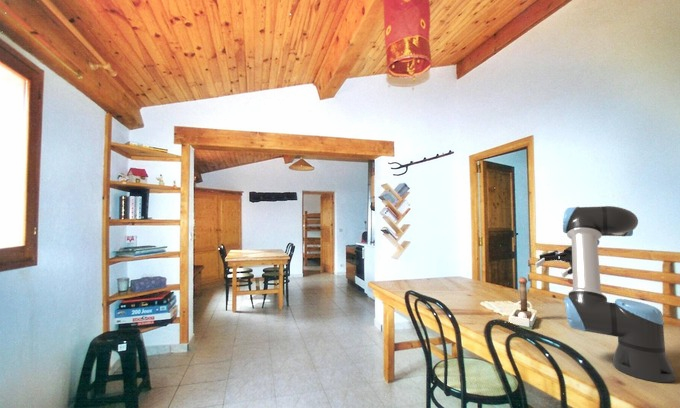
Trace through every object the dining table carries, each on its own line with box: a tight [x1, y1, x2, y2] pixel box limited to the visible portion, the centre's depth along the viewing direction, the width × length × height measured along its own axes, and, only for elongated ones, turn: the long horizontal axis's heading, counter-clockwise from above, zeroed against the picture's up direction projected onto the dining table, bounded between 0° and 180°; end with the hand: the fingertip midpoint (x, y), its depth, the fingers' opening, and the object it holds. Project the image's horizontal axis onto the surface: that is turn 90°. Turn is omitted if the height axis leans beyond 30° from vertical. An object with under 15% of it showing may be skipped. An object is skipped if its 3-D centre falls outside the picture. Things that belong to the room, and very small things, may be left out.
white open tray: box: [508, 308, 537, 330], centre depth 156 cm, size 20×10×4 cm, turn 142°
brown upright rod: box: [516, 276, 533, 319], centre depth 162 cm, size 5×7×21 cm
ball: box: [518, 312, 527, 318], centre depth 156 cm, size 4×4×4 cm
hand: (548, 270), depth 157 cm, fingers open, 13 cm apart
